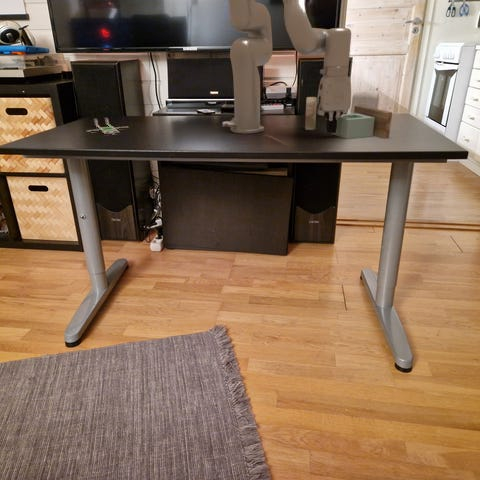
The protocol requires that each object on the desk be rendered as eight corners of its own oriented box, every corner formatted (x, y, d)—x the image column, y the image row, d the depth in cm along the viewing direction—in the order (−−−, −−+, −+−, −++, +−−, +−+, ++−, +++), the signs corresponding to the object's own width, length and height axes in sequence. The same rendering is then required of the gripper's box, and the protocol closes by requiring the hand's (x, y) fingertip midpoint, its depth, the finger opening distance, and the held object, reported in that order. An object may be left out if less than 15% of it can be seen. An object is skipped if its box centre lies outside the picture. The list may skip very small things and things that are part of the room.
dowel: (307, 133, 146) (309, 98, 141) (303, 131, 149) (304, 97, 144) (316, 132, 147) (318, 97, 142) (311, 130, 150) (313, 96, 145)
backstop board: (334, 146, 126) (337, 117, 123) (307, 135, 142) (309, 109, 138) (388, 141, 132) (392, 112, 128) (356, 131, 148) (359, 105, 144)
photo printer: (376, 122, 162) (381, 90, 157) (374, 124, 159) (378, 91, 154) (351, 121, 167) (354, 89, 161) (348, 122, 164) (351, 90, 158)
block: (346, 138, 131) (347, 119, 129) (330, 133, 140) (331, 115, 137) (372, 136, 134) (374, 117, 131) (355, 130, 143) (357, 113, 140)
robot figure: (81, 128, 166) (90, 138, 149) (80, 120, 165) (88, 128, 147) (121, 124, 173) (134, 133, 156) (120, 116, 172) (133, 124, 154)
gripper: (320, 74, 121) (316, 136, 129) (363, 72, 125) (357, 132, 133) (308, 73, 127) (305, 132, 135) (349, 71, 131) (344, 128, 139)
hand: (331, 132), depth 134 cm, fingers closed
